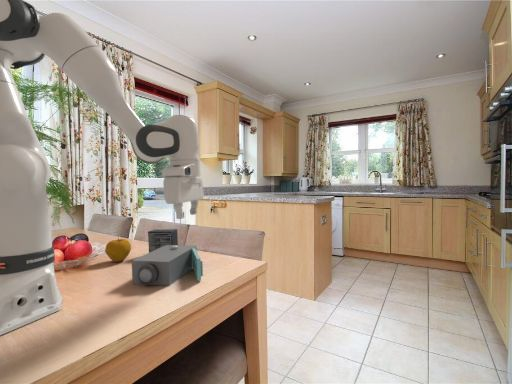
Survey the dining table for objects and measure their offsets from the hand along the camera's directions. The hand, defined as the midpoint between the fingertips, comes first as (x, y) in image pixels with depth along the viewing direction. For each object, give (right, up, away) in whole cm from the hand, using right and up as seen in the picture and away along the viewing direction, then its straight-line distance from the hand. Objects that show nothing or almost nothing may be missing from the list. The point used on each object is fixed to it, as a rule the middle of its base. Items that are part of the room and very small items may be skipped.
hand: (187, 216), depth 81 cm
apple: (-33, -20, +23) cm, 45 cm away
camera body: (-9, -20, +6) cm, 22 cm away
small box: (-18, -19, +31) cm, 41 cm away
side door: (+2, -19, +6) cm, 20 cm away
